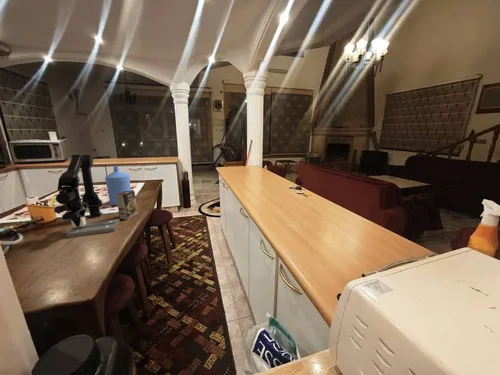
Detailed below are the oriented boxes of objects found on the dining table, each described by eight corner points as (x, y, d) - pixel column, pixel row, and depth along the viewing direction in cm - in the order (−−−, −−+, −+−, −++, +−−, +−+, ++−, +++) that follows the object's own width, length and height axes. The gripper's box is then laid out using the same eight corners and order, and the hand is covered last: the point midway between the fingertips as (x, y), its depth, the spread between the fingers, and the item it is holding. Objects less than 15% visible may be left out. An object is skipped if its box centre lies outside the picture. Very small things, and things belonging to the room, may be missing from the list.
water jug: (126, 205, 160) (120, 168, 153) (105, 205, 161) (97, 168, 153) (137, 198, 175) (131, 164, 168) (117, 198, 176) (111, 164, 168)
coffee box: (128, 219, 136) (124, 194, 132) (119, 218, 138) (115, 194, 133) (138, 214, 145) (134, 190, 141) (129, 213, 146) (126, 190, 142)
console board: (76, 227, 126) (75, 223, 126) (119, 221, 133) (119, 218, 133) (67, 237, 114) (66, 233, 114) (114, 230, 121) (114, 227, 121)
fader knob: (76, 226, 122) (74, 217, 121) (86, 224, 124) (84, 216, 122) (73, 229, 118) (71, 220, 117) (84, 227, 120) (82, 219, 119)
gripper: (62, 194, 122) (69, 220, 126) (45, 205, 105) (53, 234, 110) (86, 192, 126) (91, 217, 130) (73, 203, 109) (80, 231, 113)
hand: (79, 224), depth 121 cm, fingers closed on fader knob, 4 cm apart
